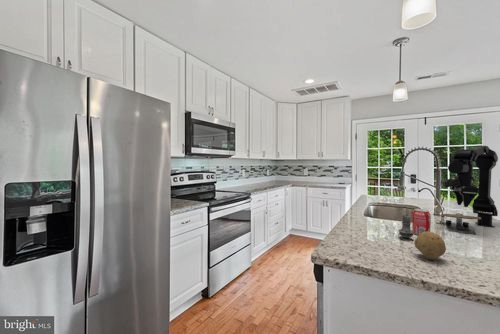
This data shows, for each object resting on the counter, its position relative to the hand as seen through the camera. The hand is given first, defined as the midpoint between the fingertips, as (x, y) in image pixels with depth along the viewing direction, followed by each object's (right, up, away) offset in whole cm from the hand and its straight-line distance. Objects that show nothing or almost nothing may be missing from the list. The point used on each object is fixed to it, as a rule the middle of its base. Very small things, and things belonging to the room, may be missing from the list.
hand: (462, 206), depth 113 cm
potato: (-39, -15, -29) cm, 51 cm away
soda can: (-22, -14, -2) cm, 26 cm away
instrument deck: (+5, -7, +7) cm, 11 cm away
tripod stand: (+5, -13, +7) cm, 16 cm away
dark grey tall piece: (-34, -14, -9) cm, 38 cm away
